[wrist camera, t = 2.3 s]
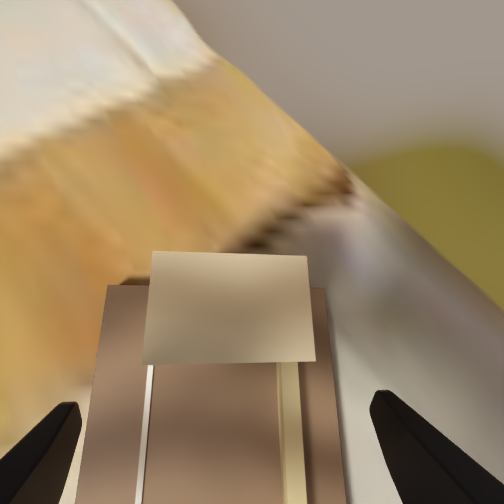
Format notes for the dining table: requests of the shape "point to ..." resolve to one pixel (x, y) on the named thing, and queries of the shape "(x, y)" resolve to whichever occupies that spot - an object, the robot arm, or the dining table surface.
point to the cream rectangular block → (228, 309)
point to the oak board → (208, 422)
